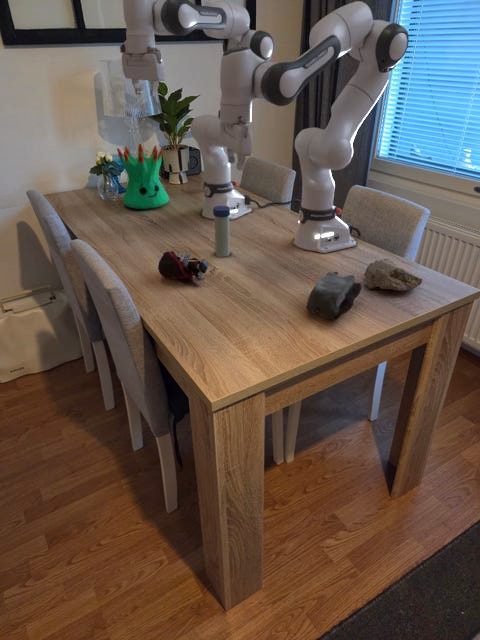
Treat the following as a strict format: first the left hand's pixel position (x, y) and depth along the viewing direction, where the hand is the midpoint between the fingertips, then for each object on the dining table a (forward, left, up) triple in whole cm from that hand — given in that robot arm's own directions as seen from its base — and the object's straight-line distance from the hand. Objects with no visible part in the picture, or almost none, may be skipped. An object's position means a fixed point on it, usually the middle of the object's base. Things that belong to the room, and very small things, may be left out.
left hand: (146, 95), depth 149 cm
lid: (-4, +34, -32) cm, 46 cm away
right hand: (-1, +43, -16) cm, 46 cm away
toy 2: (+19, +41, -48) cm, 66 cm away
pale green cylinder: (-4, +34, -48) cm, 59 cm away
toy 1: (-15, -33, -48) cm, 60 cm away
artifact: (-26, +85, -48) cm, 101 cm away
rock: (-2, +83, -48) cm, 96 cm away
